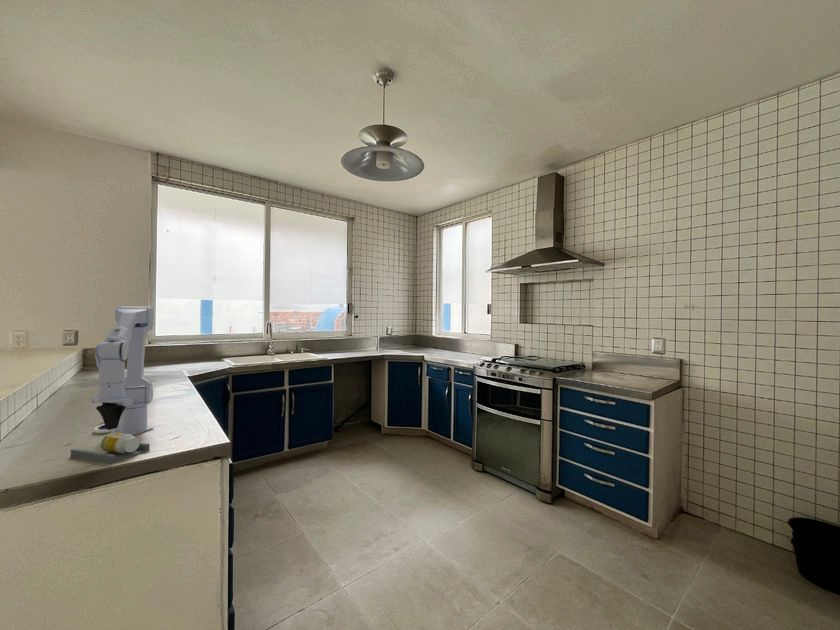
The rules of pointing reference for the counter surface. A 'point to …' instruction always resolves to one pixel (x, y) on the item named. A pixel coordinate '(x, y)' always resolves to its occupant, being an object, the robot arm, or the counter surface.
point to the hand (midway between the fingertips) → (111, 428)
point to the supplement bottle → (119, 443)
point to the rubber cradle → (108, 454)
